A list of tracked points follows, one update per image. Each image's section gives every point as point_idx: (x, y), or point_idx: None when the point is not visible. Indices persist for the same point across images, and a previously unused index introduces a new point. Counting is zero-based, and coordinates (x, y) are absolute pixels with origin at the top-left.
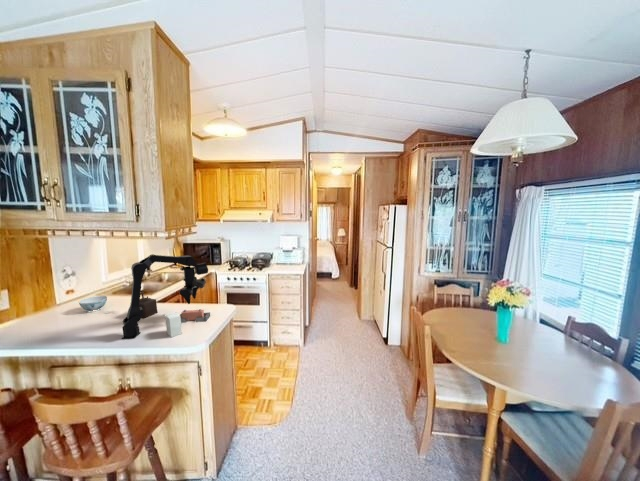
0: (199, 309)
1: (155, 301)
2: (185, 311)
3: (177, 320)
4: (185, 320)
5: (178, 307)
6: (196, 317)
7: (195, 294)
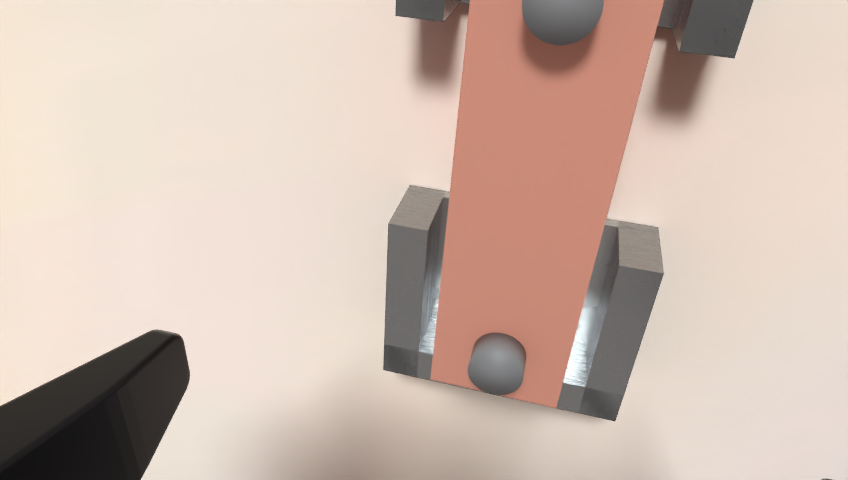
0: (539, 29)
1: None
2: (518, 350)
3: None
4: (659, 252)
5: (26, 384)
6: (699, 46)
7: (37, 461)
